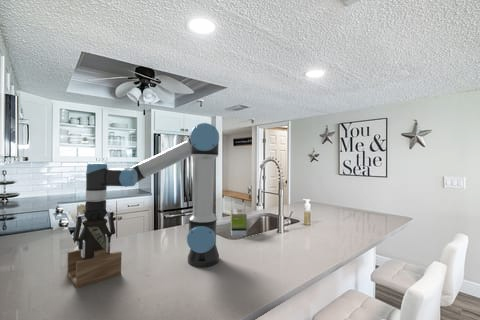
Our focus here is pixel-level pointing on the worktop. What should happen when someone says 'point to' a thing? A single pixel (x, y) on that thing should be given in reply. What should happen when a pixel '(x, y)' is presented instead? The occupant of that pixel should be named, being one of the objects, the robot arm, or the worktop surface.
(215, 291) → the worktop surface
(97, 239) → the container
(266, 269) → the worktop surface
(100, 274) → the holder
